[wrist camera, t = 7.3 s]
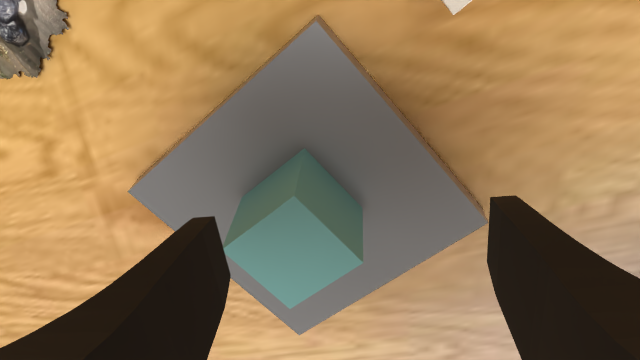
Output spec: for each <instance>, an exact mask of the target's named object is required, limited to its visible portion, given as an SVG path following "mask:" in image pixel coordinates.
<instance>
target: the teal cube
mask: <svg viewBox="0 0 640 360" xmlns="http://www.w3.org/2000/svg"><path fill="white" fill-rule="evenodd" d="M223 249H224V252H225V254H226V255H227V256H228V257H229V258H231V259H232V260H233V261H234V262H235V263H237V264H238V265H239V266H240V267H241V268H242V269H244V270H245V271H246V272H247V273H248V274H249V275H251V276H252V277H253V278H254V279H255V280H256V281H258V282H259V283H260V284H261V285H262V286H263V287H265V288H266V289H267V290H268V291H269V292H270V293H272V294H273V295H274V296H275V297H276V298H277V299H279V300H280V301H281V302H282V303H283V304H284V305H286V306H287V307H288V308H289V309H291V308H292V307H294V306H296V305H297V304H299V303H300V302H302V301H304V300H305V299H307V298H308V297H310V296H312V295H313V294H315V293H316V292H318V291H320V290H321V289H323V288H324V287H326V286H327V285H329V284H331V283H332V282H334V281H335V280H337V279H339V278H340V277H342V276H343V275H345V274H347V273H348V272H350V271H351V270H353V269H355V268H356V267H358V266H359V265H361V264H362V263H363V212H362V207H361V206H360V205H359V204H358V203H357V202H356V201H355V200H354V199H353V198H352V197H351V195H350V194H349V193H348V192H347V191H346V190H345V189H344V188H343V187H342V186H341V185H340V184H339V183H338V182H337V181H336V180H335V179H334V178H333V177H332V176H331V175H330V174H329V173H328V172H327V171H326V170H325V169H324V168H323V167H322V166H321V165H320V164H319V163H318V161H317V160H316V159H315V158H314V157H313V156H312V155H311V154H310V153H309V152H308V151H307V150H306V149H305V148H304V149H303V150H301V151H300V152H299V153H298V154H296V155H295V156H294V157H293V158H291V159H290V160H289V161H287V162H286V163H285V164H284V165H282V166H281V167H280V168H279V169H277V170H276V171H275V172H273V173H272V174H271V175H270V176H268V177H267V178H266V179H265V180H263V181H262V182H261V183H259V184H258V185H257V186H256V187H254V188H253V189H252V190H251V191H249V192H248V193H247V194H245V195H244V196H243V197H242V198H241V201H240V203H239V206H238V208H237V211H236V213H235V216H234V218H233V221H232V223H231V226H230V229H229V231H228V234H227V236H226V239H225V241H224V244H223Z"/></svg>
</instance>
